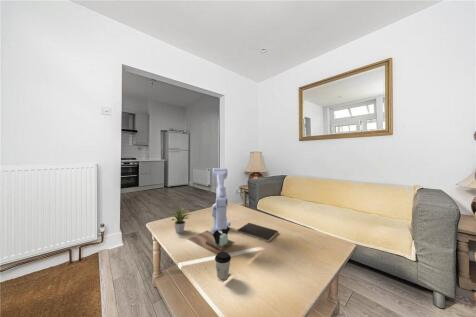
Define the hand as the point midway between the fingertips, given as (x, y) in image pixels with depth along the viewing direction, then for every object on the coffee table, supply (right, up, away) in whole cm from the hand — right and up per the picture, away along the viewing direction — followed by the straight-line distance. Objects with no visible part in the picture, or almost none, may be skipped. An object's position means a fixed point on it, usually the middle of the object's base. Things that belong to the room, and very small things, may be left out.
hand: (220, 241), depth 97 cm
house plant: (-30, -3, +17) cm, 35 cm away
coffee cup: (+3, -4, -24) cm, 25 cm away
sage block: (0, -2, 0) cm, 2 cm away
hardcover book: (+23, -4, +20) cm, 31 cm away
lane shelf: (-6, -3, +5) cm, 9 cm away
